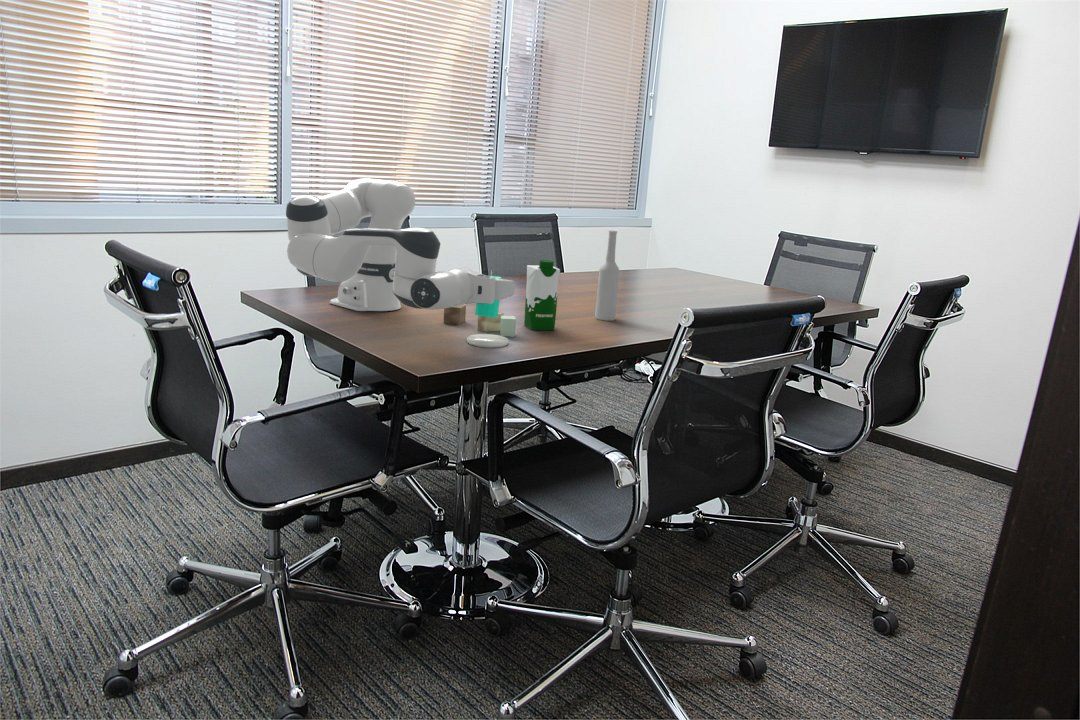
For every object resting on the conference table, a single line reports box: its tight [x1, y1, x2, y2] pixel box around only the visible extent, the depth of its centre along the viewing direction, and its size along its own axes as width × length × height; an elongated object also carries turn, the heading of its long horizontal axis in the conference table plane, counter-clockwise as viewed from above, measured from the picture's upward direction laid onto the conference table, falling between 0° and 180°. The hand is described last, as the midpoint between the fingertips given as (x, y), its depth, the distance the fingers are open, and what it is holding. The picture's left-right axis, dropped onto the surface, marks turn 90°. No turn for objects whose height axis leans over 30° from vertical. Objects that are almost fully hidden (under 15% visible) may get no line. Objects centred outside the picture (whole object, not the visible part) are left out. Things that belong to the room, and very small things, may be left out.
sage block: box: [499, 315, 517, 338], centre depth 213 cm, size 4×4×5 cm
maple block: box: [476, 311, 504, 333], centre depth 218 cm, size 4×6×5 cm, turn 131°
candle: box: [474, 270, 503, 317], centre depth 199 cm, size 6×6×12 cm
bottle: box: [594, 230, 621, 322], centre depth 242 cm, size 7×7×28 cm
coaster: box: [466, 333, 509, 349], centre depth 203 cm, size 11×11×1 cm
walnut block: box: [443, 304, 467, 325], centre depth 225 cm, size 5×5×5 cm
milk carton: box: [523, 259, 561, 331], centre depth 223 cm, size 9×9×20 cm
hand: (492, 280), depth 199 cm, fingers closed on candle, 5 cm apart
